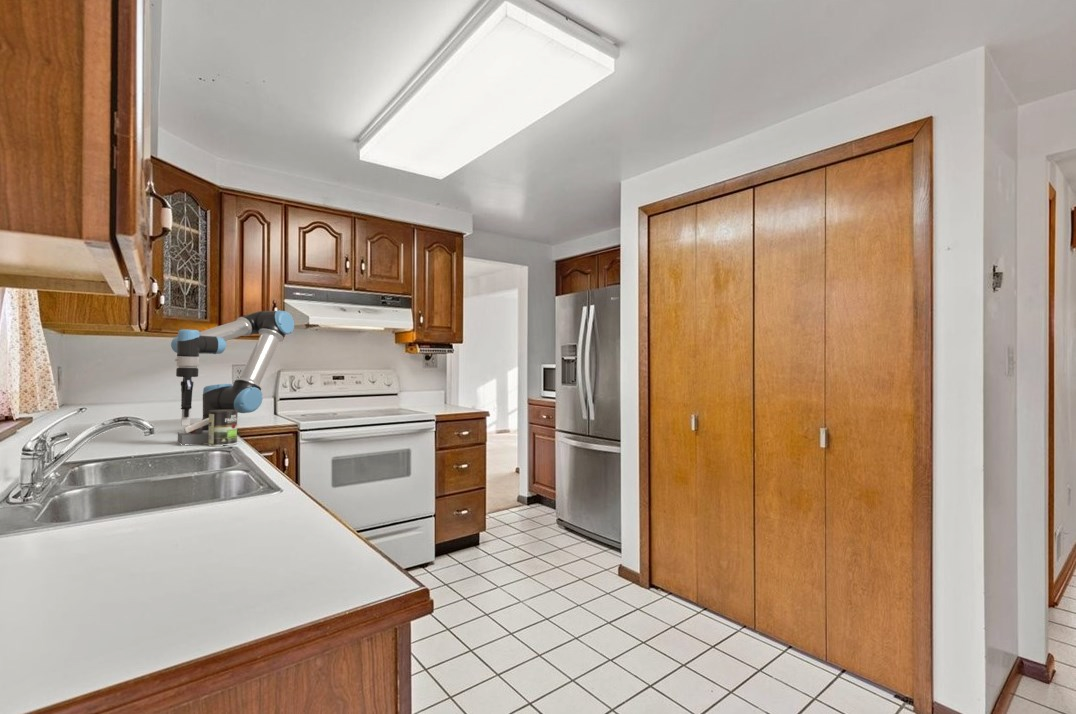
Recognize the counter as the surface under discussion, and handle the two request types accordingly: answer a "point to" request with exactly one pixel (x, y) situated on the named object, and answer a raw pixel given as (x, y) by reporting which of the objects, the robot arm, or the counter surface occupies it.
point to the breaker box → (193, 437)
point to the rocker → (196, 425)
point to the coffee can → (222, 427)
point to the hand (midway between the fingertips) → (185, 424)
